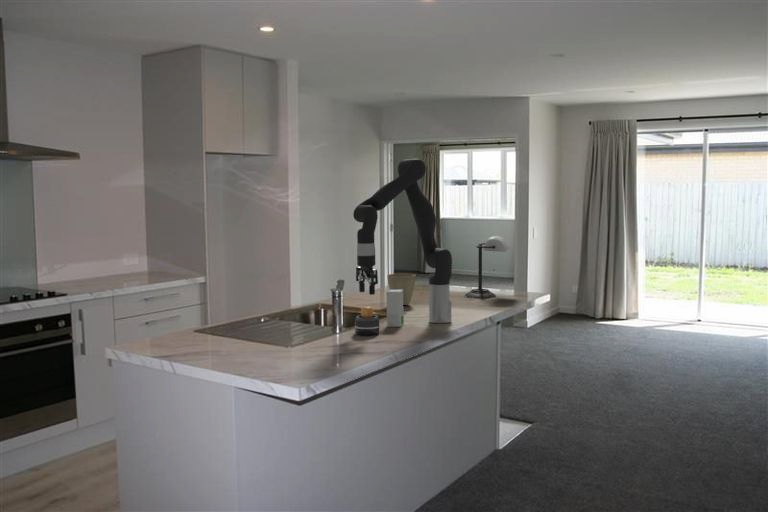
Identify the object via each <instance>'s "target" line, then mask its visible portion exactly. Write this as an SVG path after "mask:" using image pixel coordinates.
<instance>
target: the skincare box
mask: <svg viewBox="0 0 768 512" xmlns="http://www.w3.org/2000/svg"><path fill="white" fill-rule="evenodd" d="M385 294H386V326H387V327H388V328H401V327H402V326H403V325H404V324H405V322H404V321H405V315H404V313H405V312H404V306H403V290H390V289H389V290H387V291H386V293H385Z"/></svg>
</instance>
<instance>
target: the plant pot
mask: <svg viewBox="0 0 768 512" xmlns="http://www.w3.org/2000/svg"><path fill="white" fill-rule="evenodd" d="M416 276H417V275H416V274H414V273H391V274H387V281H388V282H387V283H388V287H389V290H403V305H408V304H409V305H410V303H411V301H412V297H413V293H414V289H415V285H416V280H417V279H416ZM409 305H408V306H409Z"/></svg>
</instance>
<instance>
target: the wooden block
mask: <svg viewBox="0 0 768 512" xmlns="http://www.w3.org/2000/svg"><path fill="white" fill-rule="evenodd" d="M360 315H361V318H373V315H374V307H373V306H361V307H360Z"/></svg>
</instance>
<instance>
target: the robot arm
mask: <svg viewBox="0 0 768 512" xmlns="http://www.w3.org/2000/svg"><path fill="white" fill-rule="evenodd" d="M426 169H427V167H426V164H425V162H424V161H423V160H422V159H420V158H407V159H406V158H405V159H402V160H401V161H400V162H399V163H398V165H397V173H398V174H397V175H398V177H396V178H394V179H393V180H391V181H389V182H388V183H386V184H384V185H383V186H381V187H380V188H379V189H378V190H377V191H376V192H375V193H374V194H373V195H371V196H370V197H369V198H367V199H366V200H363V201H362V202H361V203H359V204H358V205H356V207H355V208H354V210H353V213H352V214H353V219H354V220H355V221H356V222H357V223H362V227H361V228H359V229H358V230H357V235H356V239H357V245H356V265H357V267H355V281H356V282H358V292H359V293H365V291H366V290H365V289H366V287H365V282H366V281H367V282H368V293H369V295H376V289H375V288H376V285H378V284H379V281H378V279H379V278H378V269H374V267H375V266H376V245H375V244H376V243H375V231H376V228H377V223H378V212H379V211H382V210H383V209H385V208H386V207H387V206H388V205H389V204H390V203H391V202H392V201H393V200H394V199H396V197H397V196H399V195H401V193H403V191H405V194H406V196H407V199H408V202H409V205H410V208H411V211H412V215H413V218H414V221H415V225H416V228H417V231H418V234H419V237H420V241H421V246H422V250H423V255H424V260H425V263H426V265H427V266H428V267H429V268H431V269H435V270H434V274H433V276H430V277H429V279H428V321H429V323H431V324H432V323H433V324H446V323H449V322H452V300H451V299H450V281H451V278H452V270H453V257H452V254H451V252H450V250H449V249H448V248H440V247H438V244H437V242H436V237H435V232H436V226H437V217H436V216H437V215H436V214H435V211H434V207H433V205H432V202H431V201H430V200H429V199H428V197H427V196H426V195H425V193H423V191H422V189H421V188H420V186H419V183H418V182H419V180H421V179H422V178H424V176H425V174H426Z"/></svg>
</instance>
